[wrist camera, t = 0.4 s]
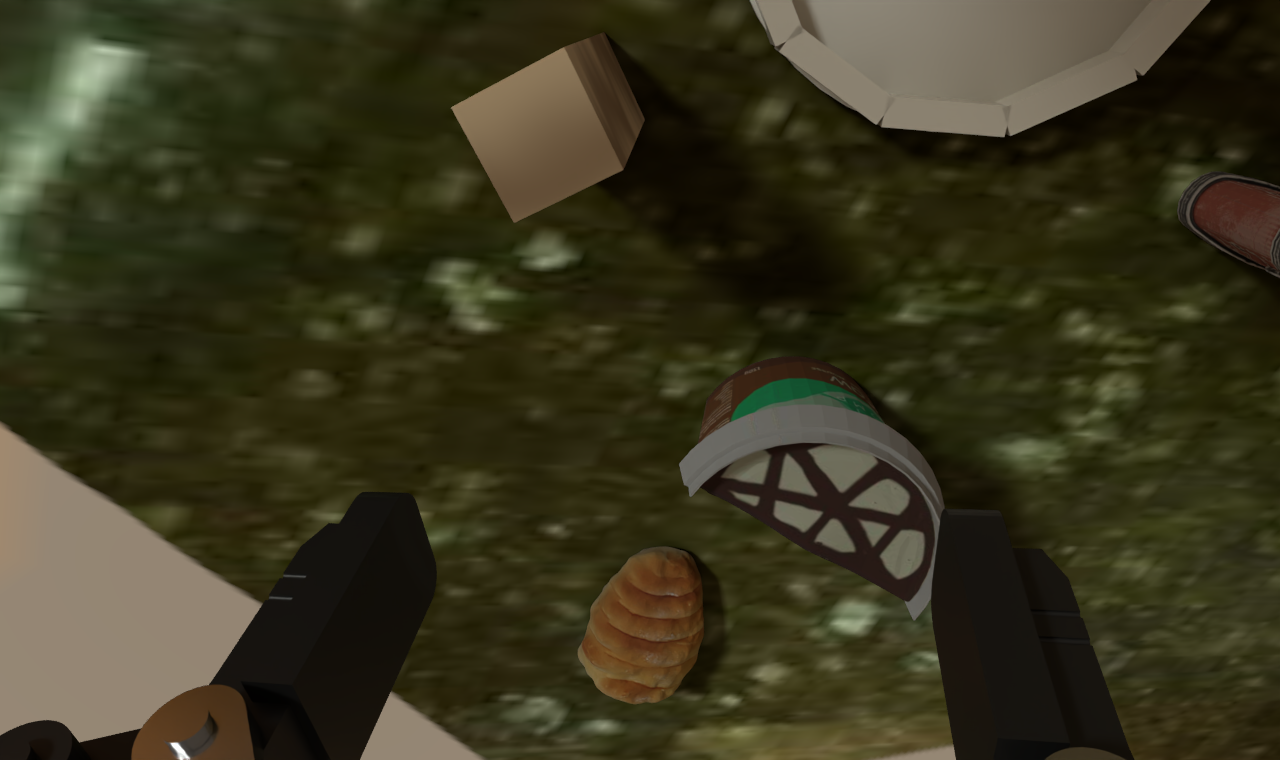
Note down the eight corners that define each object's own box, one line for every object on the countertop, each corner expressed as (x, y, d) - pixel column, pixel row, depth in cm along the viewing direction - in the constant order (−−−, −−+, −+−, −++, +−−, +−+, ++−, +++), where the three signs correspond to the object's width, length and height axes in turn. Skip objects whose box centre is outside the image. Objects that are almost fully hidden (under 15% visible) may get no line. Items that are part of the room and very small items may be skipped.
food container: (954, 411, 42) (1024, 524, 33) (878, 498, 45) (924, 626, 36) (750, 286, 40) (765, 371, 31) (682, 385, 43) (678, 490, 34)
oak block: (523, 75, 37) (451, 107, 26) (604, 32, 36) (564, 47, 25) (566, 158, 38) (514, 222, 27) (644, 119, 37) (623, 169, 27)
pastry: (612, 524, 47) (606, 566, 43) (729, 552, 47) (732, 596, 44) (576, 649, 51) (568, 697, 47) (684, 674, 51) (684, 724, 48)
